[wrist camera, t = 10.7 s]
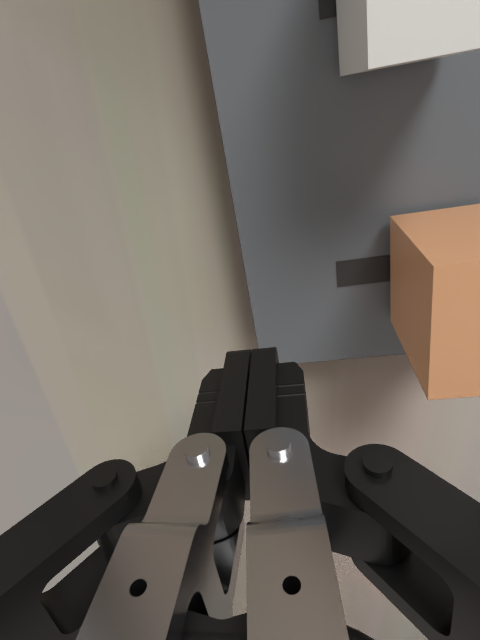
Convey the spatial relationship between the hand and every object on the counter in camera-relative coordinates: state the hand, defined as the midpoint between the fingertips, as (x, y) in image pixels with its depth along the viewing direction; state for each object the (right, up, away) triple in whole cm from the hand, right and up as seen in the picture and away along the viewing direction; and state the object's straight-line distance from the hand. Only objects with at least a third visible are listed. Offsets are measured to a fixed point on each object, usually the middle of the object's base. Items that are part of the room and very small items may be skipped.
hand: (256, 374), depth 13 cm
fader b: (+8, +4, +5) cm, 10 cm away
